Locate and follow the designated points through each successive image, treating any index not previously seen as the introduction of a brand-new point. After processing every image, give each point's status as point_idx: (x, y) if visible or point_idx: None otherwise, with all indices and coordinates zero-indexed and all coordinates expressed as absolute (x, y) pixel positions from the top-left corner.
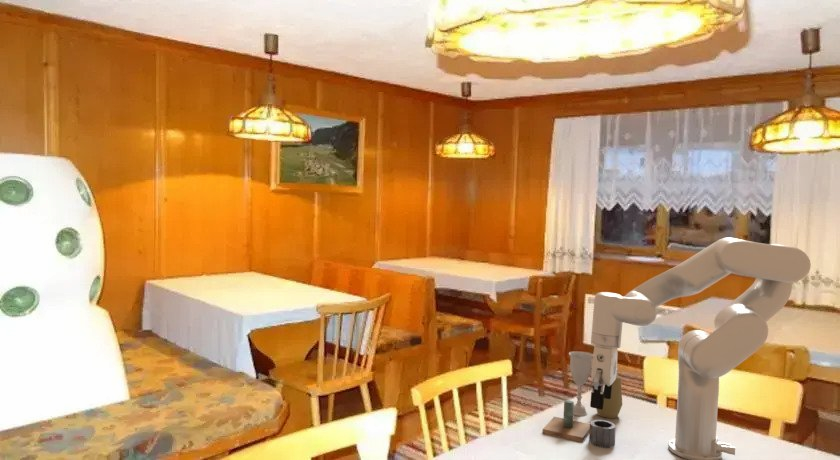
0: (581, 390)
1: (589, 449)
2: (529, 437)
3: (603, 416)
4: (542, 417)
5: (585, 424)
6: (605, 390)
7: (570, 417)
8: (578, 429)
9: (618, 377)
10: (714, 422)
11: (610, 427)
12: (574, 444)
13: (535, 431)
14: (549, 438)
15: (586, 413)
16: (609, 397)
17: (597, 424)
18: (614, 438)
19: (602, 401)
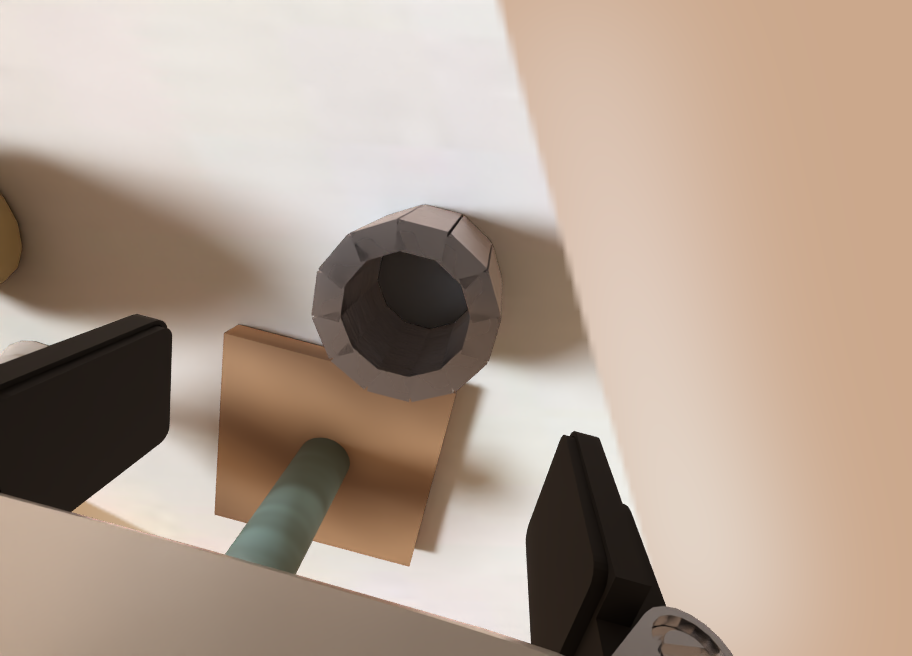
0: None
1: (550, 352)
2: (484, 595)
3: (19, 253)
4: (213, 542)
5: (245, 371)
6: (93, 425)
7: (322, 494)
8: (340, 410)
9: None
10: None
11: (454, 264)
12: (503, 421)
13: (403, 573)
14: (465, 523)
15: (34, 347)
16: (157, 336)
17: (362, 340)
18: (445, 216)
19: (612, 504)
